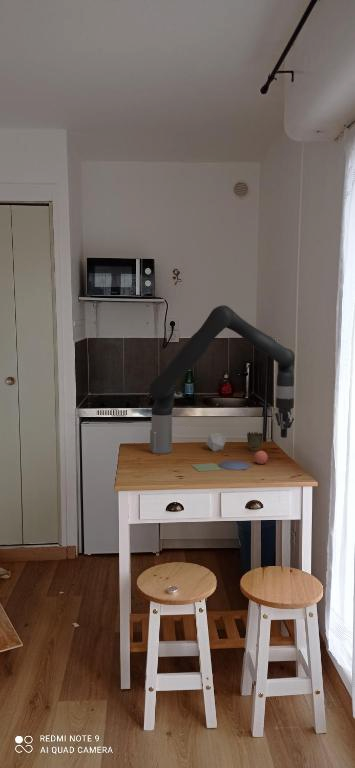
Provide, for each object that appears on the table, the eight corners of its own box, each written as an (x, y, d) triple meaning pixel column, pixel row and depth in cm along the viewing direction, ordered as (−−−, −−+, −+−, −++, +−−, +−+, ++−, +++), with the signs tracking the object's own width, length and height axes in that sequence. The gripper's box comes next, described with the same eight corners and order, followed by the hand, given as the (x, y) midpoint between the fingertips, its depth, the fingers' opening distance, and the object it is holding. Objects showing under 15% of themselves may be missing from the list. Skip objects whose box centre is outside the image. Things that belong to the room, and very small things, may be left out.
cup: (262, 452, 261) (262, 435, 260) (245, 451, 263) (246, 434, 262) (263, 449, 268) (263, 432, 267) (247, 448, 270) (247, 431, 269)
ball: (257, 465, 239) (257, 452, 238) (252, 462, 244) (252, 449, 244) (269, 465, 241) (270, 452, 240) (264, 461, 246) (264, 449, 245)
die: (218, 448, 271) (206, 432, 270) (232, 441, 267) (220, 425, 265) (212, 458, 265) (199, 441, 263) (226, 451, 260) (214, 435, 258)
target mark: (225, 470, 231) (225, 470, 231) (213, 462, 243) (213, 462, 243) (255, 468, 235) (255, 468, 235) (242, 460, 247) (242, 460, 247)
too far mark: (198, 471, 230) (198, 471, 230) (191, 465, 239) (191, 464, 239) (222, 469, 232) (222, 469, 232) (214, 463, 242) (214, 463, 242)
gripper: (269, 394, 247) (268, 434, 249) (284, 399, 234) (282, 441, 237) (285, 394, 249) (284, 433, 251) (300, 398, 237) (299, 440, 239)
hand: (283, 437), depth 244 cm, fingers closed
